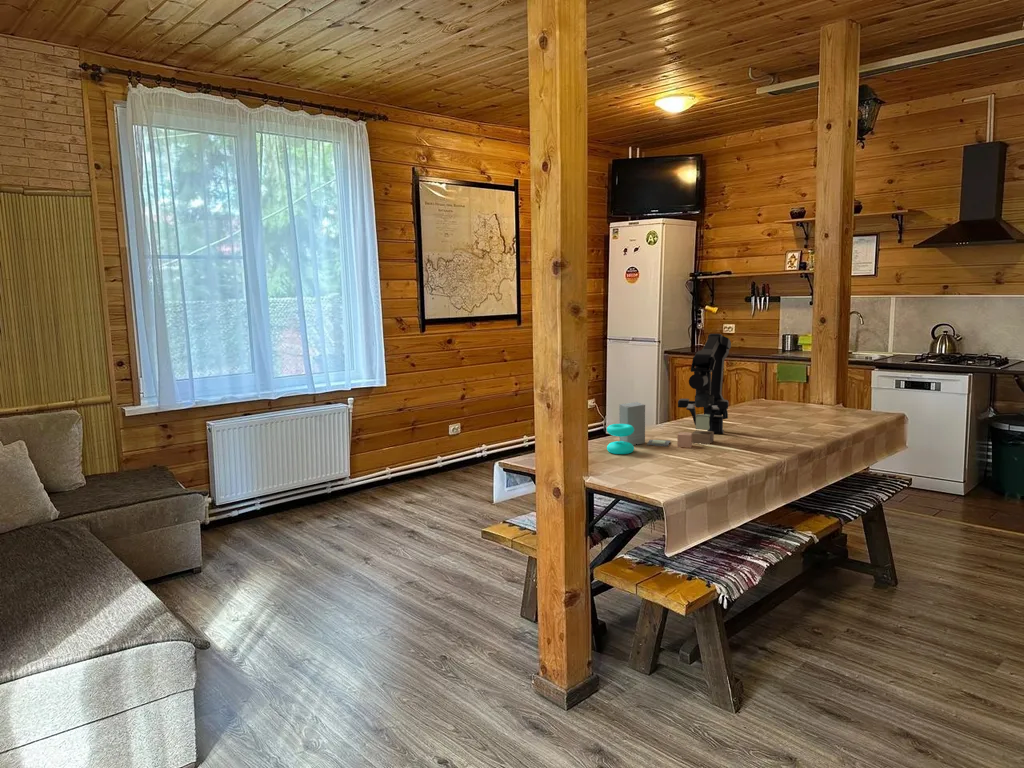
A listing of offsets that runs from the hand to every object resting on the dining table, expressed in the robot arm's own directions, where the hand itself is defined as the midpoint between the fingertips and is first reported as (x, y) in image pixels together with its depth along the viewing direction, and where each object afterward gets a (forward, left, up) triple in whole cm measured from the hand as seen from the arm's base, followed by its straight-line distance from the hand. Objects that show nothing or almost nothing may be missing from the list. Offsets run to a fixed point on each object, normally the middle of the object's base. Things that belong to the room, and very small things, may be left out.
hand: (702, 425), depth 275 cm
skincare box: (+9, -26, -7) cm, 28 cm away
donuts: (+24, -28, -7) cm, 37 cm away
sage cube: (0, 0, -1) cm, 1 cm away
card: (+7, -16, -6) cm, 19 cm away
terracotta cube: (+9, -6, -7) cm, 13 cm away
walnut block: (0, 0, -7) cm, 7 cm away
